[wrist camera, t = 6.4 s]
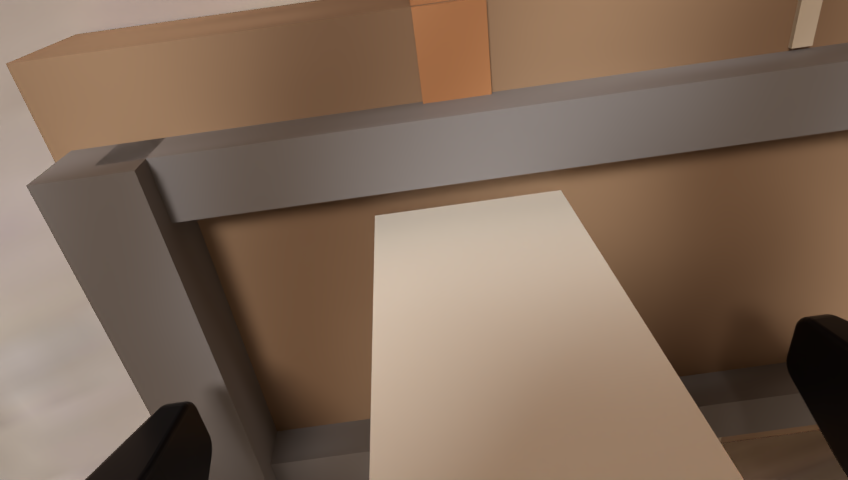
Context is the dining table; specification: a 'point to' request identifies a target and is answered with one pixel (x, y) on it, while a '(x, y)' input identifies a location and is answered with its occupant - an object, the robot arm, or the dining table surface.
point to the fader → (519, 355)
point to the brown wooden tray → (440, 190)
